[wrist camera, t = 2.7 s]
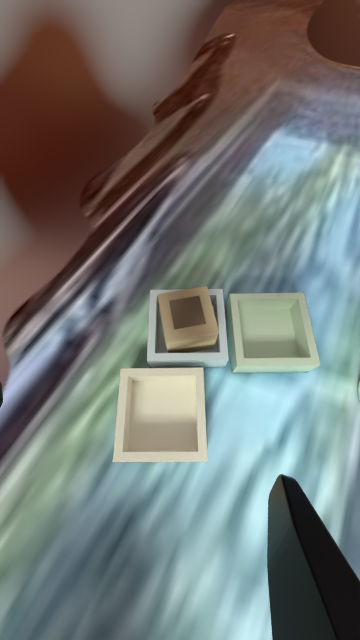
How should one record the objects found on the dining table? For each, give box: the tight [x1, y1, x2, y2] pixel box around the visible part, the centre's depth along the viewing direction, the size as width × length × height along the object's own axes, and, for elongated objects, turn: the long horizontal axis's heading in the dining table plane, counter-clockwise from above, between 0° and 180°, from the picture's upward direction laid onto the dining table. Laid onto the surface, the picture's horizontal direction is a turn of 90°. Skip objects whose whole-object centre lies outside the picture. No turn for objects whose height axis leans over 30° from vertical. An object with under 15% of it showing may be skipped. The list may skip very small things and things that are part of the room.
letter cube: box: [157, 286, 219, 353], centre depth 22 cm, size 4×4×4 cm
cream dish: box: [113, 368, 207, 462], centre depth 20 cm, size 6×6×2 cm
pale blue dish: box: [147, 289, 229, 368], centre depth 23 cm, size 6×6×2 cm
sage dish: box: [226, 293, 320, 373], centre depth 23 cm, size 6×6×2 cm
